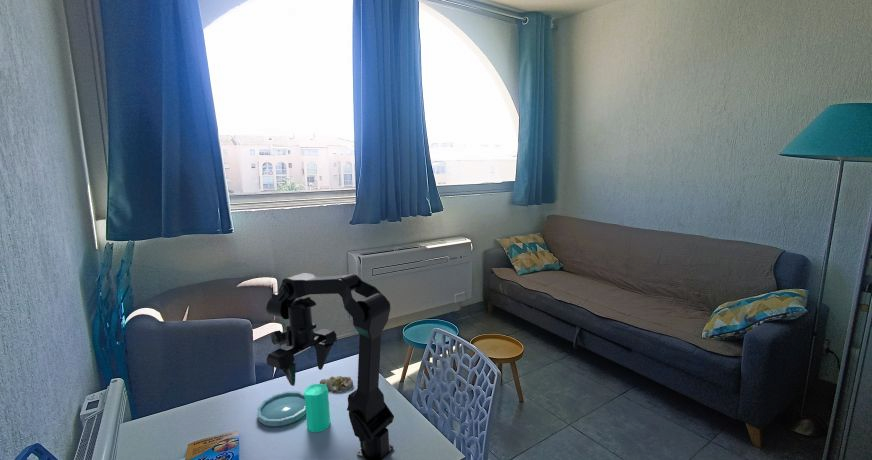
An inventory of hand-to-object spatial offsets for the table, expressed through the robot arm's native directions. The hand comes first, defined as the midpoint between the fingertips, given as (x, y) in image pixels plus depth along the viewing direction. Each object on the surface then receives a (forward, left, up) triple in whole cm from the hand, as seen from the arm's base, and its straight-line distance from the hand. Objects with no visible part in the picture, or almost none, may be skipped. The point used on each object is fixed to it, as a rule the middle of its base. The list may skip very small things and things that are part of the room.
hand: (306, 377), depth 106 cm
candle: (-3, 0, -13) cm, 14 cm away
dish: (+10, +1, -13) cm, 16 cm away
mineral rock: (+7, -16, -14) cm, 22 cm away
